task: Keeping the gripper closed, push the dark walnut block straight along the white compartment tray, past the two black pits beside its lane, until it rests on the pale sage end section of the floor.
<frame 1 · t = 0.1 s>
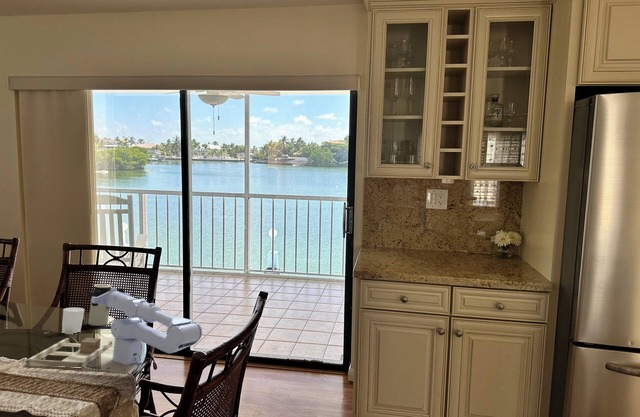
hand: (97, 292, 164), 22 cm above the table, tool horizontal, fingers open, 7 cm apart
white cup: (70, 333, 183), on the table
block: (89, 350, 159), point 1 cm above the table, touching white compartment tray
travel mug: (98, 324, 201), on the table
white compartment tray: (72, 358, 152), on the table
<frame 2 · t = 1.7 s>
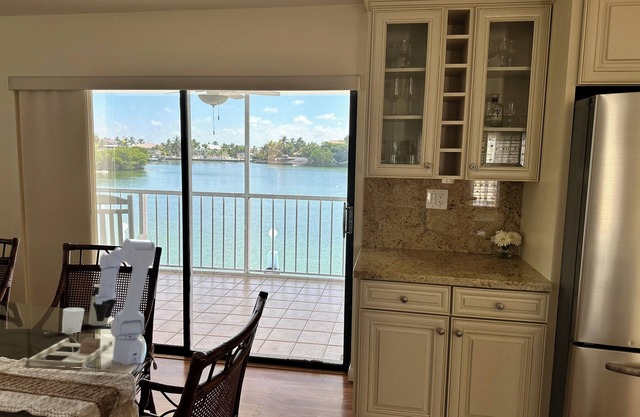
hand: (103, 319, 170), 10 cm above the table, tool pointing down, fingers open, 6 cm apart
nothing on the table moved.
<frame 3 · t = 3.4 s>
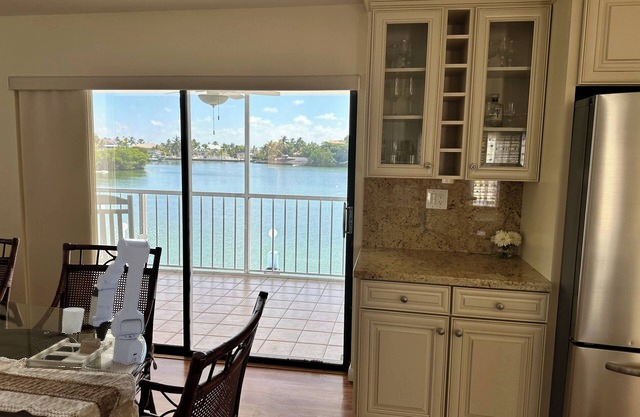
hand: (100, 340, 169), 2 cm above the table, tool pointing down, fingers closed
nothing on the table moved.
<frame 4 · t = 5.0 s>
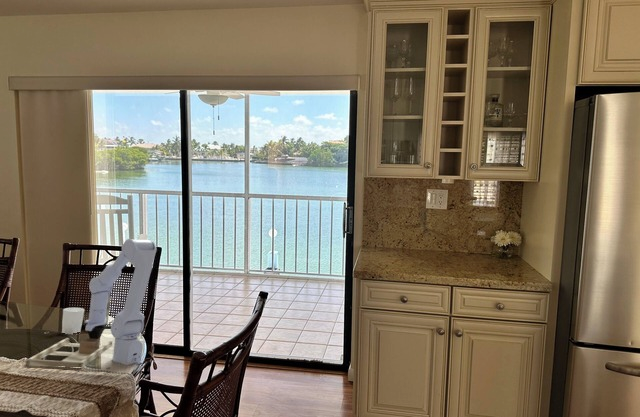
hand: (93, 345, 163), 2 cm above the table, tool pointing down, fingers closed
block: (88, 351, 159), point 1 cm above the table, touching gripper
everything else where it was.
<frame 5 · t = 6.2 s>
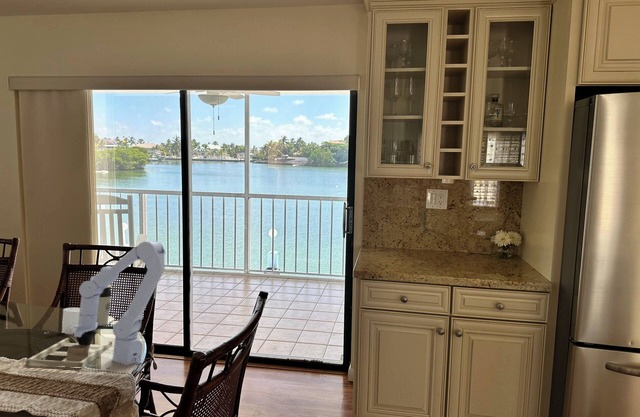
hand: (83, 352, 154), 2 cm above the table, tool pointing down, fingers closed
block: (77, 358, 150), point 1 cm above the table, touching gripper
everything else where it was.
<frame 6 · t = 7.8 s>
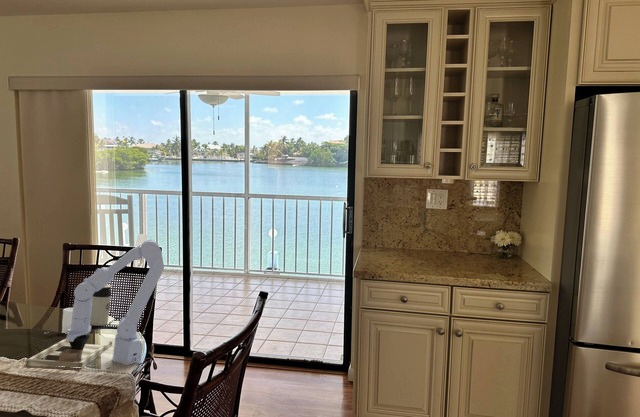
hand: (76, 357, 148), 2 cm above the table, tool pointing down, fingers closed
block: (69, 363, 144), point 1 cm above the table, touching gripper, white compartment tray
everything else where it was.
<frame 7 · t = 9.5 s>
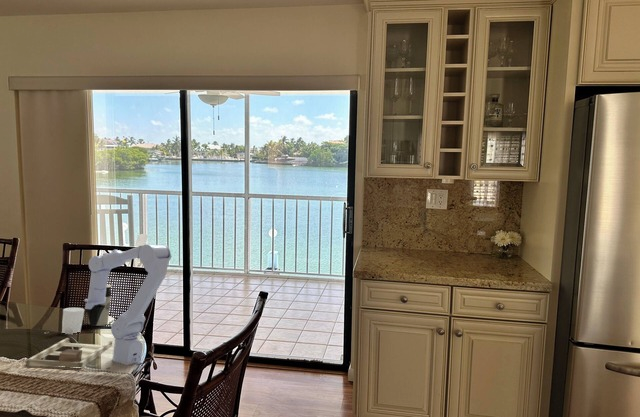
hand: (93, 324, 160), 10 cm above the table, tool pointing down, fingers closed
block: (69, 363, 144), point 1 cm above the table, touching white compartment tray
everything else where it was.
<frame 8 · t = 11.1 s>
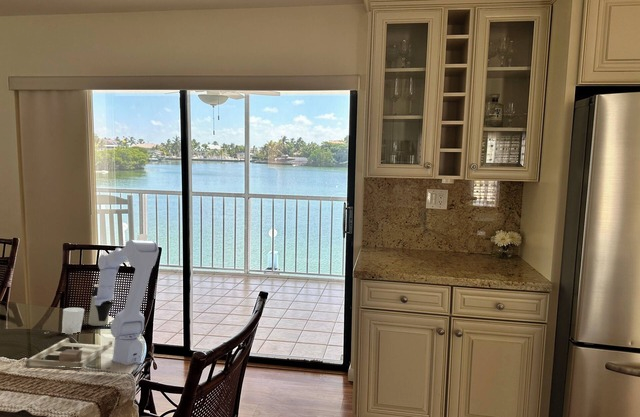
hand: (102, 320, 167), 10 cm above the table, tool pointing down, fingers closed
nothing on the table moved.
at the end: block inside the target area (0.3 cm from its centre), point 1.0 cm above the table; block tilted 0°; block moved 14.9 cm from its start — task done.
